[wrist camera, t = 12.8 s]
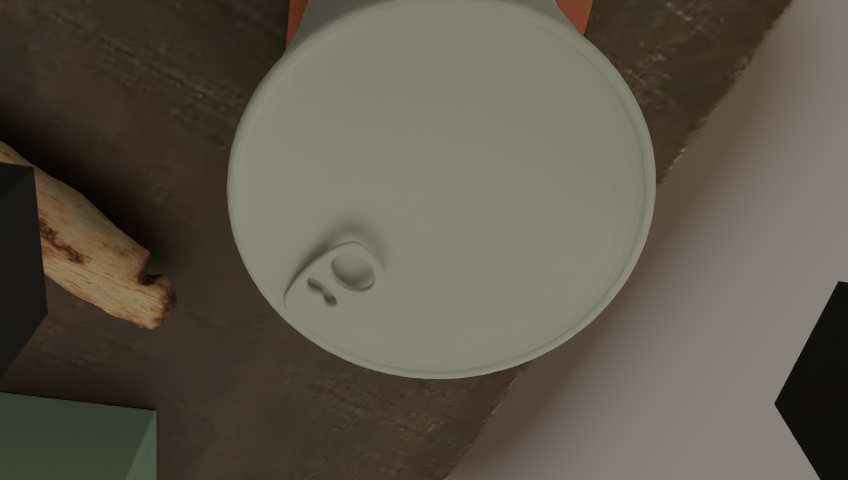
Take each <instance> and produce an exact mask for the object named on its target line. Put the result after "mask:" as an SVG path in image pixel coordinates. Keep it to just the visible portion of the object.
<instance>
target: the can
mask: <svg viewBox="0 0 848 480" xmlns="http://www.w3.org/2000/svg"><path fill="white" fill-rule="evenodd" d="M655 193H656V169H655V161H654V153H653V148H652V143H651V138H650V135H649V131H648V128H647V124H646V122H645V119H644V117H643V114H642V112H641V110H640V107H639V105H638V103H637V101H636V99H635V98H634V96H633V94H632V92H631V90H630V89H629V87H628V86H627V84H626V83H625V81H624V80H623V78H622V77H621V75H620V74H619V72H618V71H617V69H616V68H615V67H614V66H613V65H612V64H611V63H610V62H609V60H608V59H607V58H606V57H605V56H604V55H603V54H602V53H601V52H600V51H599V50H598V49H597V48H596V47H595V46H594V45H593V44H592V43H591V42H589V41H588V40H587V39H586V38H584V37H583V36H582V35H581V34H580V33H579V32H578V31H577V29H576V28H575V27H574V26H573V25H572V23H571V22H570V21H569V20H568V18H567V17H566V16H565V15H564V14H563V12H562V11H561V10H560V9H559V8H558V6H557V3H556V1H555V0H308V3H307V6H306V8H305V11H304V14H303V17H302V20H301V24H300V27H299V29H298V30H297V32H296V34H295V36H294V37H293V39H292V41H291V42H290V44H289V45H288V47H287V49H286V50H285V52H284V54H283V55H282V57H281V58H280V59H279V60H278V61H277V62H276V63H275V64H274V65H273V67H272V68H271V69H270V70H269V72H268V73H267V74H266V75H265V77H264V78H263V79H262V81H261V82H260V84H259V85H258V87H257V88H256V90H255V91H254V93H253V95H252V97H251V99H250V100H249V102H248V104H247V106H246V108H245V110H244V112H243V114H242V116H241V119H240V122H239V124H238V127H237V130H236V132H235V136H234V140H233V144H232V147H231V152H230V158H229V164H228V177H227V199H228V210H229V217H230V222H231V227H232V231H233V235H234V239H235V242H236V245H237V247H238V250H239V253H240V255H241V258H242V260H243V262H244V264H245V266H246V268H247V270H248V272H249V274H250V276H251V278H252V279H253V281H254V282H255V284H256V285H257V287H258V288H259V290H260V291H261V293H262V294H263V296H264V297H265V298H266V299H267V301H268V302H269V303H270V304H271V306H272V307H273V308H274V309H275V310H276V311H277V312H278V313H279V314H280V315H281V316H282V317H283V318H284V319H285V320H286V321H287V322H288V323H289V324H290V325H291V326H292V327H294V328H295V329H296V330H297V331H299V332H300V333H301V334H302V335H304V336H305V337H307V338H308V339H310V340H311V341H313V342H314V343H316V344H317V345H319V346H320V347H322V348H323V349H325V350H327V351H329V352H331V353H332V354H335V355H337V356H339V357H341V358H343V359H345V360H347V361H350V362H352V363H355V364H357V365H360V366H363V367H366V368H369V369H373V370H376V371H380V372H383V373H387V374H393V375H399V376H405V377H413V378H425V379H451V378H463V377H471V376H478V375H484V374H488V373H492V372H496V371H500V370H504V369H508V368H511V367H514V366H517V365H519V364H522V363H524V362H527V361H529V360H532V359H534V358H536V357H538V356H540V355H542V354H544V353H546V352H548V351H550V350H552V349H554V348H555V347H557V346H559V345H560V344H562V343H563V342H565V341H567V340H568V339H569V338H571V337H572V336H574V335H575V334H576V333H578V332H579V331H580V330H581V329H583V328H584V327H585V326H587V324H589V323H590V322H591V321H592V320H593V319H594V318H595V317H596V316H597V315H598V314H599V313H600V312H601V311H602V310H603V309H604V308H605V307H606V306H607V305H608V304H609V303H610V301H611V300H612V299H613V298H614V297H615V295H616V294H617V293H618V291H619V290H620V289H621V288H622V286H623V285H624V283H625V282H626V280H627V278H628V277H629V275H630V274H631V272H632V270H633V268H634V266H635V264H636V262H637V260H638V258H639V256H640V254H641V252H642V249H643V247H644V244H645V241H646V239H647V235H648V232H649V228H650V224H651V221H652V216H653V210H654V202H655Z"/></svg>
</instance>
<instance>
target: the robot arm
mask: <svg viewBox="0 0 848 480" xmlns="http://www.w3.org/2000/svg"><path fill="white" fill-rule="evenodd" d="M47 314H48V309H47V299H46V288H45V278H44V267H43V257H42V247H41V236H40V226H39V216H38V205H37V195H36V184H35V174H34V167H31V166H24V165H17V164H10V163H3V162H0V379H1V377H2V376H3V375H4V373H5V372H6V370H7V369H8V368H9V366H10V365H11V364H12V362H13V361H14V359H15V358H16V357H17V355H18V354H19V352H20V351H21V350H22V348H23V347H24V346H25V344H26V343H27V341H28V340H29V339H30V337H31V336H32V335H33V333H34V332H35V330H36V329H37V328H38V326H39V325H40V324H41V322H42V321H43V319H44V318H45V317H46V315H47ZM774 404H775V406H776V408H777V409H778V411H779V413H780V414H781V416H782V418H783V419H784V421H785V422H786V424H787V426H788V427H789V429H790V430H791V432H792V434H793V436H794V437H795V439H796V440H797V442H798V444H799V445H800V447H801V449H802V450H803V452H804V454H805V455H806V457H807V458H808V460H809V462H810V463H811V465H812V467H813V468H814V470H815V471H816V473H817V475H818V477H819V478H820V480H848V283H847V282H840V281H839V282H838V283H837V285H836V287H835V289H834V291H833V293H832V295H831V297H830V299H829V301H828V302H827V304H826V306H825V308H824V310H823V312H822V314H821V316H820V318H819V319H818V322H817V323H816V325H815V327H814V329H813V331H812V333H811V335H810V337H809V338H808V340H807V342H806V344H805V346H804V348H803V350H802V352H801V354H800V356H799V358H798V360H797V362H796V363H795V365H794V367H793V369H792V371H791V373H790V375H789V377H788V379H787V380H786V382H785V384H784V386H783V388H782V390H781V392H780V394H779V396H778V398H777V399H776V401H775V403H774Z"/></svg>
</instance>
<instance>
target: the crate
mask: <svg viewBox="0 0 848 480" xmlns="http://www.w3.org/2000/svg"><path fill="white" fill-rule="evenodd" d="M0 480H157V449H156V411H154V410H146V409H138V408H129V407H121V406H112V405H104V404H95V403H87V402H79V401H70V400H62V399H53V398H45V397H37V396H28V395H20V394H11V393H3V392H0Z"/></svg>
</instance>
